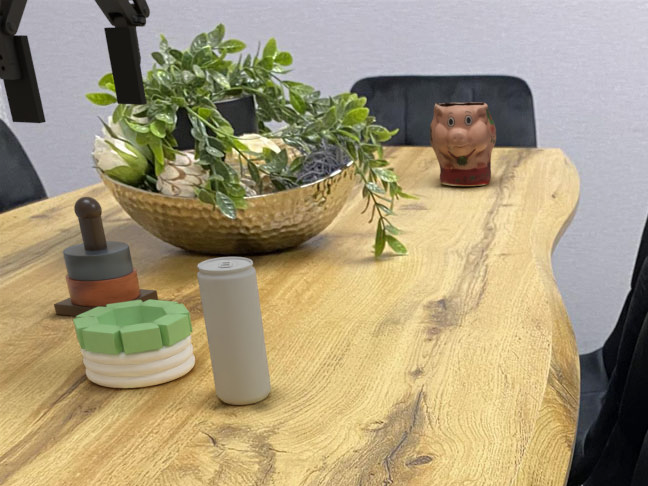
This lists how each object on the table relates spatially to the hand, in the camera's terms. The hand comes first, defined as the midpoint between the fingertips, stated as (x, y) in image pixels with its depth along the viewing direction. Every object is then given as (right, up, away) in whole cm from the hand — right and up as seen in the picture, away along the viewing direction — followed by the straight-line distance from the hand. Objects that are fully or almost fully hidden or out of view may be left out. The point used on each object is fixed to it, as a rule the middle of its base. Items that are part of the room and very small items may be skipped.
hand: (84, 113), depth 86 cm
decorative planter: (+30, +25, +94) cm, 102 cm away
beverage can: (+14, -25, +1) cm, 29 cm away
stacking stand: (-8, -12, +26) cm, 30 cm away
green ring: (+3, -19, +5) cm, 20 cm away
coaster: (+3, -22, +7) cm, 23 cm away
